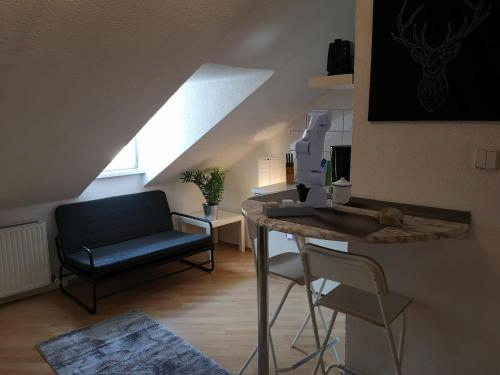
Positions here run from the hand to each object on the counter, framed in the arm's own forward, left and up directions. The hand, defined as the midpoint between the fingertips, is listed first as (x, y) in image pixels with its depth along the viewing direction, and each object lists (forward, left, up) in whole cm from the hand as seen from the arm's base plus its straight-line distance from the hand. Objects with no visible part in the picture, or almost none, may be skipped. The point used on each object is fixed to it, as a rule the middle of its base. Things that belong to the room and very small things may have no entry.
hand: (302, 201), depth 173 cm
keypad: (+6, 0, -5) cm, 8 cm away
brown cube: (+13, 0, -3) cm, 13 cm away
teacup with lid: (-25, -20, -5) cm, 32 cm away
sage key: (0, 0, -3) cm, 3 cm away
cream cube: (+7, 0, -3) cm, 7 cm away
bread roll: (-28, +21, -5) cm, 35 cm away
